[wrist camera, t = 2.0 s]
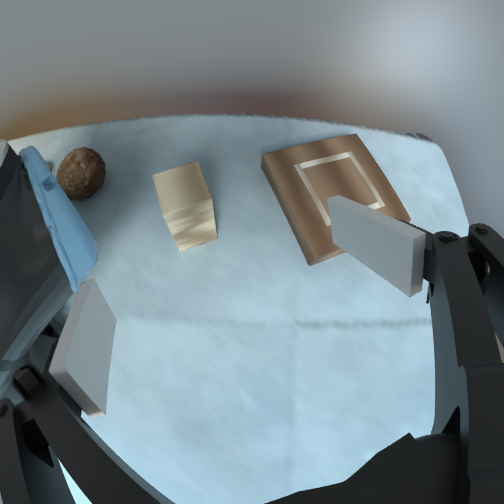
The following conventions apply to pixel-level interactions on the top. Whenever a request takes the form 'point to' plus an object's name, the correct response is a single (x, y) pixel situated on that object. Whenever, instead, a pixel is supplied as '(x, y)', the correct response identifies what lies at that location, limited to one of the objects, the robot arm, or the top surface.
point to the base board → (326, 188)
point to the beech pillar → (186, 205)
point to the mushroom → (81, 173)
